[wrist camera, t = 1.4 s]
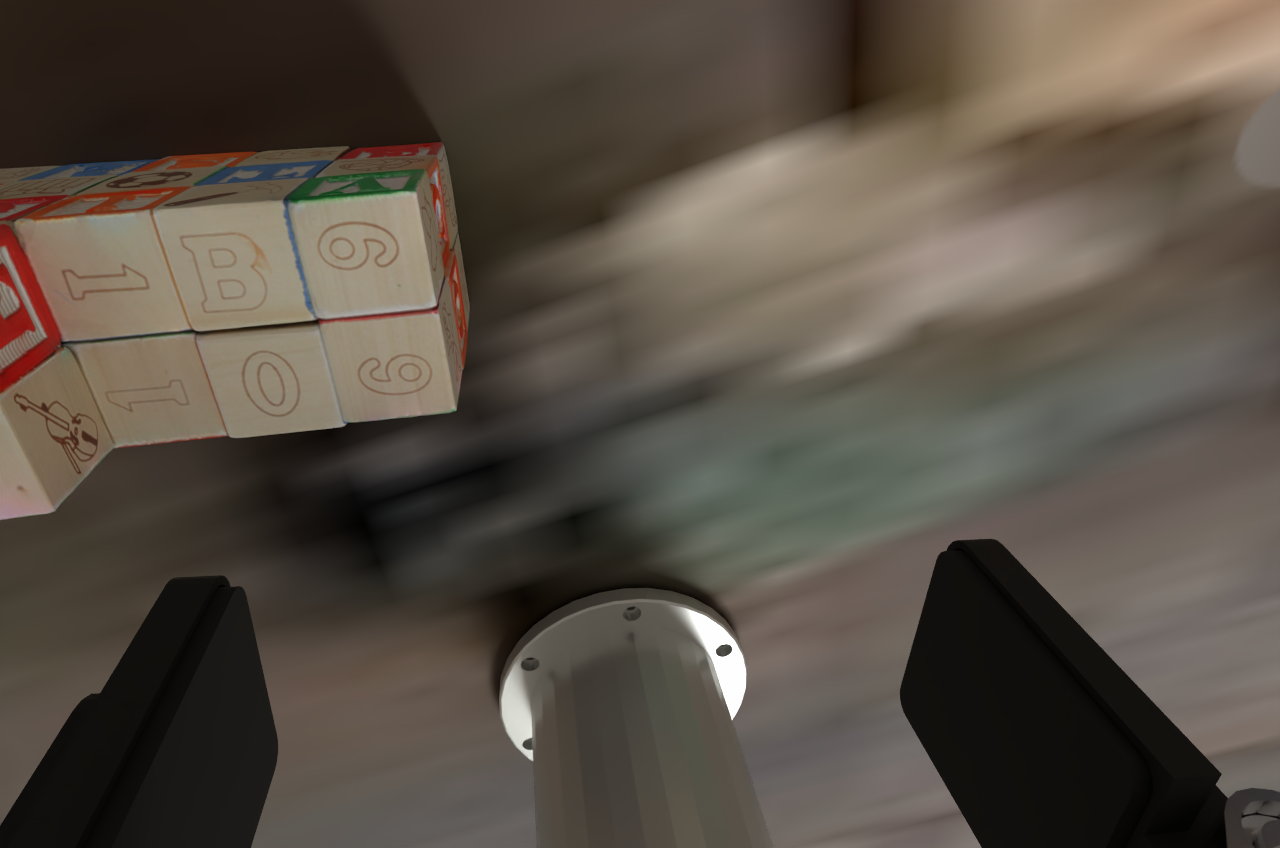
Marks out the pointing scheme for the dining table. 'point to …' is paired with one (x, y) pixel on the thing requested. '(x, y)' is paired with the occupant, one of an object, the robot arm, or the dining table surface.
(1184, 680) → the dining table surface
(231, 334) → the stack of blocks
